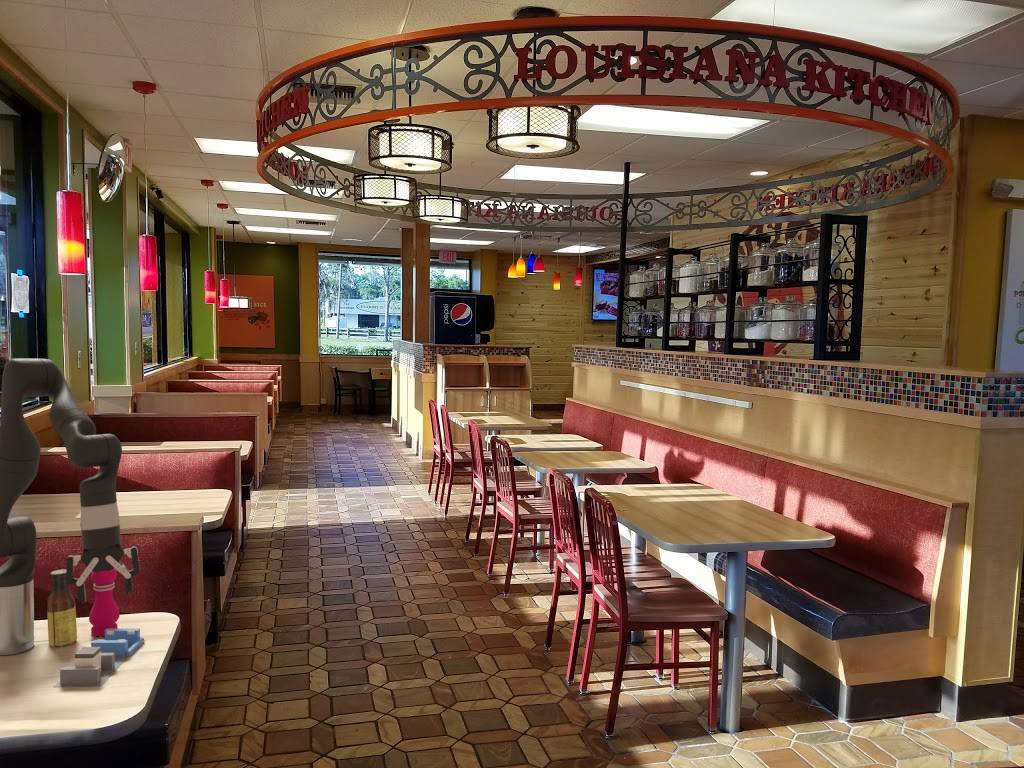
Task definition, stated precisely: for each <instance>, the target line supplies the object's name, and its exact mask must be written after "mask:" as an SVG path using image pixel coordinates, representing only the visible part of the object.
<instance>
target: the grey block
mask: <svg viewBox="0 0 1024 768" xmlns="http://www.w3.org/2000/svg"><path fill="white" fill-rule="evenodd" d="M95 666H100V673H101V647H91V646H83V647H81V648H80V649H79V650H78V651H77V652H75V653H74V667H95Z"/></svg>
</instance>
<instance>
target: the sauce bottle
mask: <svg viewBox="0 0 1024 768" xmlns="http://www.w3.org/2000/svg"><path fill="white" fill-rule="evenodd" d="M49 575H50V579H51V592H50V594H49V596H48V598H47V601H46V603H47V604H46V607H47V610H46V611H47V612H46V614H47V617H46V618H47V633H48V635H47V637H48V646H50V647H53V648H63V647H69V646H72V645H73V644H75V643H76V642H77V640H78V632H77V631H78V627H77V611H76V610H77V609H76V607H77V606H76V600H75V598H74V595H73V592H72V590H71V588H70V585H68V584H67V583H66V568H65V569H64V568H63V569H56V570H53V571H51V572H50V574H49Z"/></svg>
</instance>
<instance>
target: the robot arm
mask: <svg viewBox="0 0 1024 768" xmlns="http://www.w3.org/2000/svg"><path fill="white" fill-rule="evenodd" d="M35 397H37V398H39V397H40V398H41V397H42V398H43V397H48V398H50V399H51V400H52V401H53V402H52V404H51V406H50V409H49V414H48V416H49V417H48V418H49V421H50V424H51V426H52V427H53V429H54V430H55V432H56V433H57V434H58V435H59V437H61V439H62V440H63V443H64V447H65V449H66V455H67V456H66V457H67V460H68V462H70V464H71V465H73V466H74V467H76V468H79V469H87V468H95V467H97V468H98V467H99V469H98V471H97V473H96V474H95V475H94V476H91V477H88V478H86V479H83V480H82V481H81V482H80V484H79V499H80V502H79V503H80V514H79V515H80V523H79V524H80V525H79V527H80V531H81V532H80V533H81V546H82V553H81V555H72V554H70V555H68V556H67V558H66V561H65V562H66V563H65V564H66V566H65V567H66V568H65V570H66V583H67V584H68V585H69V586H70V585H73V586H75V587H76V591H77V594H76V595H77V601H79V602H80V601H81V604H85V603H86V602H87V591H86V583H85V581H86V580H87V578H88V577H89V576H90V574H92V571H93V572H95V573H98V572H101V571H111V570H113V569H114V568H115V569H116V571H117V572H119V573H120V574H121V575H122V576H123V577H124V593H125V596H127V597H128V596H130V593H132V592H133V579H132V578H133V577H134V576H136V575H138V574H140V573H141V567H140V566H141V565H140V564H141V563H140V558H139V552H138V551H139V550H138V546H136V545H135V546H134V545H133V546H132V547H129V548H123V546H122V537H121V525H120V521H121V520H120V514H119V513H120V512H119V511H120V510H119V507H118V503H117V502H118V499H117V488H116V486H117V478H118V473H119V467H120V464H121V459H122V454H123V453H122V452H123V447H122V444H121V441H120V439H119V438H118V437H117V436H116V435H115V434H112V433H103V434H102V433H101V434H96V433H97V428H96V427H97V426H96V424H95V423H94V421H93V420H92V418H90V417H89V415H88V414H87V412H85V411H84V409H82V407H81V406H80V404H79V403H78V402H77V400H76V398H75V396H74V394H73V391H72V390H71V388H70V385H69V383H68V382H67V380H66V378H65V376H64V374H63V372H62V370H61V369H60V367H59V366H58V364H56V362H54V361H53V360H51V359H47V358H11V359H9V360H8V361H6V363H5V366H4V368H3V371H2V378H1V401H0V559H2V558H7V557H10V558H9V559H8V560H7V561H6V562H5V563H3V564H2V565H1V566H0V656H9V655H16V654H19V653H23V652H25V651H26V652H27V651H29V650H31V649H32V648H33V647H34V646H35V611H34V610H35V605H34V604H35V603H34V602H35V600H34V599H35V598H34V593H35V591H34V573H35V569H36V558H37V557H36V556H37V541H38V539H37V537H38V535H37V530H36V529H37V528H36V526H35V525H36V524H35V522H34V521H33V520H32V519H31V518H30V516H24V515H23V516H16V517H11V518H9V517H10V514H11V511H12V509H13V507H14V505H15V503H16V502H17V501H18V499H19V498H20V497H22V495H23V493H25V492H26V490H27V489H28V488H29V486H30V485H31V484H32V482H33V481H34V479H35V478H36V476H37V474H38V471H39V464H40V457H41V452H42V451H41V446H40V445H41V444H40V442H39V440H38V439H37V436H36V435H35V433H34V432H33V430H32V429H31V427H30V426H29V423H28V422H27V421H26V419H25V418H26V417H25V416H24V410H23V402H24V399H25V398H35ZM124 555H126V556H127V557H128V558H129V559H130V558H131V562H132V569H131V570H130V569H129V568H127V567H126V565H125V564H124V563H123V562H122V561H121V560H122V559H123V557H124ZM79 561H81V562H82V564H84V565H85V566H86V568H85V569H84V570H83V572H82V573H81V575H80V577H78V578H77V577H75V567H77V565H78V563H79Z"/></svg>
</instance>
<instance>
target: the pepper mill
mask: <svg viewBox="0 0 1024 768" xmlns="http://www.w3.org/2000/svg"><path fill="white" fill-rule="evenodd" d="M117 572H118V571H117V570H116V569H115V568H114V569H113V570H111V571H101V572H98V573H95V572H93V571H91V576H90V577H91V580H92V583H93V590H94V591H95V600H94V603H93V606H92V607H91V610H90V612H89V615H88V621H89V624H91V625H92V627H91V628H90V635H91V636H92V635H93V636H92V637H94V636H105V630H106V629H119V627H118V623H117V622H118V621H119V619H120V609H119V607H118V605H117V603H116V601H115V599H114V593H113V592H114V588H115V587H116V586H115V584H116V583H115V579H116V578H117V575H118V574H117Z"/></svg>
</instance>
